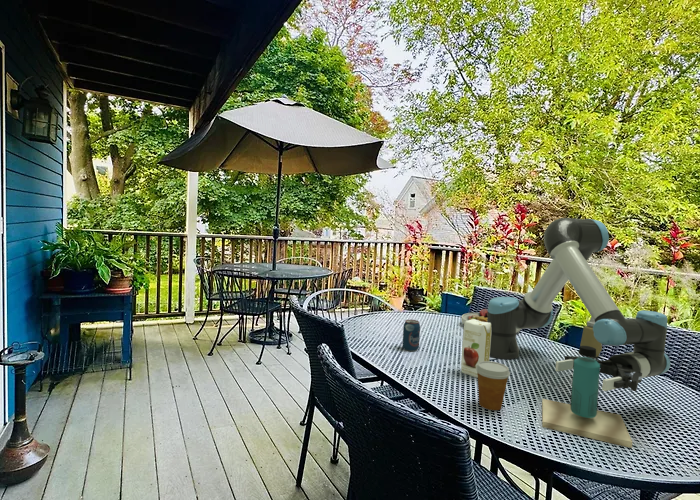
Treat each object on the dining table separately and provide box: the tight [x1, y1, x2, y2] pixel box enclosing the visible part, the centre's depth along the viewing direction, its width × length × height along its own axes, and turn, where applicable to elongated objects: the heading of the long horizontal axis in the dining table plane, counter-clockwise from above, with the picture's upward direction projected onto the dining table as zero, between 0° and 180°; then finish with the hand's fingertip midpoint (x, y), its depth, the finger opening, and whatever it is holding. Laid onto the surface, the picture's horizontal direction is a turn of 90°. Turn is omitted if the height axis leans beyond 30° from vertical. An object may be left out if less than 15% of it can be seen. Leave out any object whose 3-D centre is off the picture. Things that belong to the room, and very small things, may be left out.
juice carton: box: [460, 319, 491, 379], centre depth 143 cm, size 8×9×19 cm
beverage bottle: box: [570, 346, 600, 418], centre depth 110 cm, size 6×7×20 cm
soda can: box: [402, 319, 421, 352], centre depth 168 cm, size 7×7×12 cm
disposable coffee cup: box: [476, 360, 511, 411], centre depth 118 cm, size 10×10×12 cm
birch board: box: [541, 398, 633, 449], centre depth 110 cm, size 20×16×2 cm
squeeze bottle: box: [579, 315, 603, 358], centre depth 171 cm, size 8×8×18 cm
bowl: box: [461, 308, 522, 334], centre depth 209 cm, size 30×30×8 cm
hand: (578, 375), depth 108 cm, fingers open, 13 cm apart
